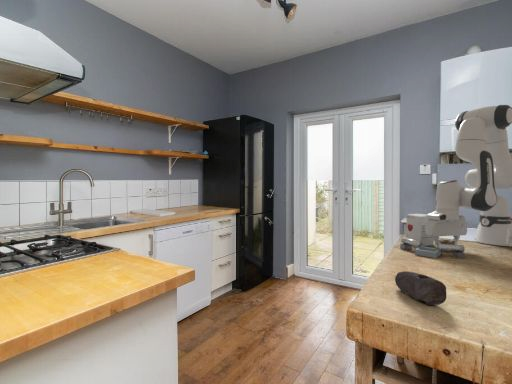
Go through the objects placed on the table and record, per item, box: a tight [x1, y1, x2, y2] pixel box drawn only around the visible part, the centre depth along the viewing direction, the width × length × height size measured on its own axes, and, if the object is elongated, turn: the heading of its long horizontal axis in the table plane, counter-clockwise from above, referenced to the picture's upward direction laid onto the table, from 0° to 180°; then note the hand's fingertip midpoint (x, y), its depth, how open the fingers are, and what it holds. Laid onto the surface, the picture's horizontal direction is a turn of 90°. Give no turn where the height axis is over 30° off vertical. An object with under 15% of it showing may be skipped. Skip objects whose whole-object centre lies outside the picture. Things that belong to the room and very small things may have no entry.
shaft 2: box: [437, 244, 466, 259], centre depth 117 cm, size 9×4×5 cm, turn 73°
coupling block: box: [438, 238, 454, 253], centre depth 127 cm, size 4×4×5 cm
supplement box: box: [405, 213, 435, 247], centre depth 140 cm, size 9×9×15 cm
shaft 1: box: [399, 237, 422, 250], centre depth 128 cm, size 9×4×5 cm, turn 18°
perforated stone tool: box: [394, 270, 448, 306], centre depth 76 cm, size 15×5×7 cm, turn 14°
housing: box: [414, 246, 442, 259], centre depth 120 cm, size 8×8×2 cm
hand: (446, 245), depth 126 cm, fingers open, 8 cm apart
